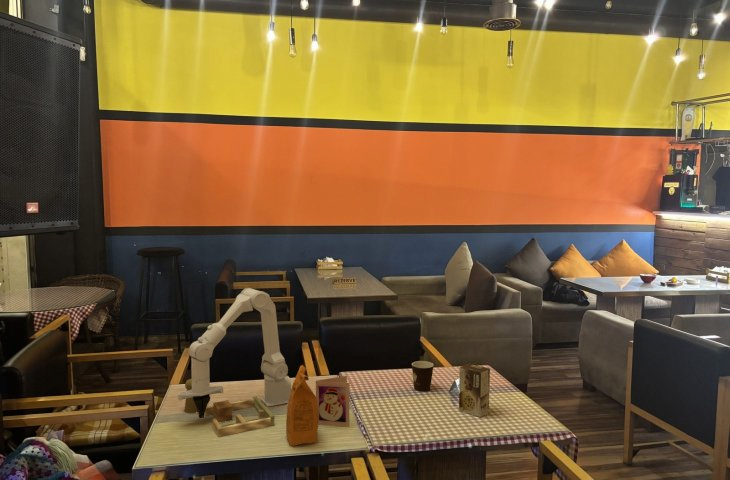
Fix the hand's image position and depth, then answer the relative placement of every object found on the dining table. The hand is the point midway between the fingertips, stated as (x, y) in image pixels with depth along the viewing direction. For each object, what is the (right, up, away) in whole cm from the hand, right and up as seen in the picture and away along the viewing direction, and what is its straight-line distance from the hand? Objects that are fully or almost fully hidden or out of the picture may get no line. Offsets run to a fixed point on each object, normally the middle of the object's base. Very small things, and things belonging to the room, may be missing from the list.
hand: (201, 416), depth 179 cm
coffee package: (+35, -3, -10) cm, 37 cm away
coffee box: (+94, -2, +12) cm, 94 cm away
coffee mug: (+78, 0, +35) cm, 85 cm away
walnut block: (+6, -2, +4) cm, 7 cm away
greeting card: (+44, -3, +2) cm, 45 cm away
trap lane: (+12, -2, +3) cm, 12 cm away
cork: (-6, -1, +10) cm, 12 cm away
